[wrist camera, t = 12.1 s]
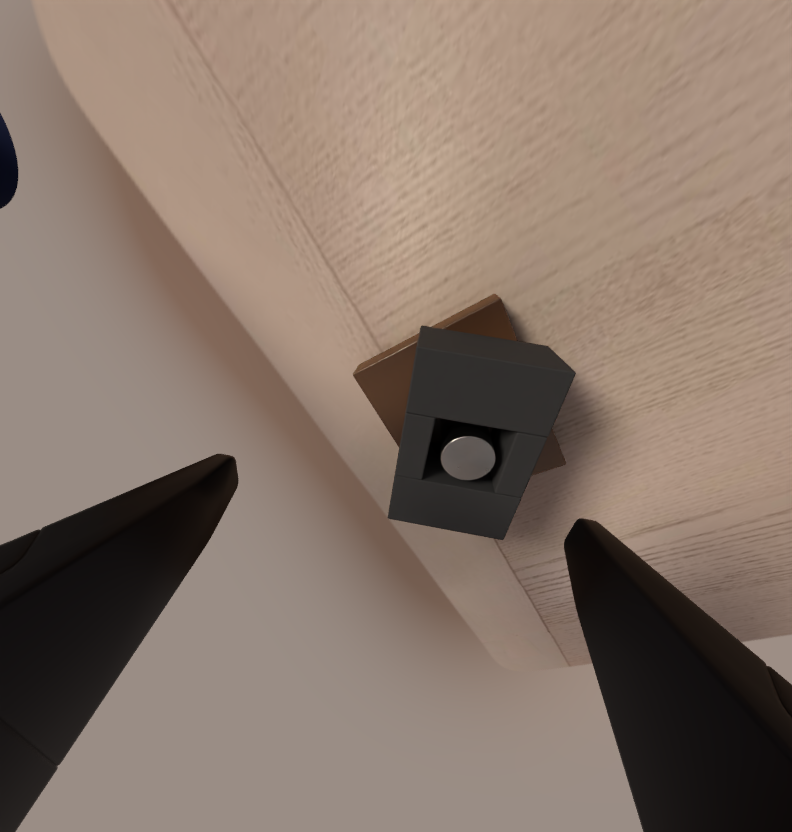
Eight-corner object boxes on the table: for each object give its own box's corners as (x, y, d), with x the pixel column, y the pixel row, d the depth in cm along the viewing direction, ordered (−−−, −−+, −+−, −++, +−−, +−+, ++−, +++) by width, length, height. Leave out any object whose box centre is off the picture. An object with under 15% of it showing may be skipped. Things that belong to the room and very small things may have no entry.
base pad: (358, 364, 18) (332, 404, 14) (495, 292, 15) (517, 312, 11) (436, 490, 22) (435, 553, 17) (558, 449, 19) (593, 511, 15)
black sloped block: (493, 493, 19) (503, 540, 16) (395, 475, 20) (387, 519, 16) (548, 345, 15) (577, 372, 12) (421, 325, 15) (416, 345, 12)
